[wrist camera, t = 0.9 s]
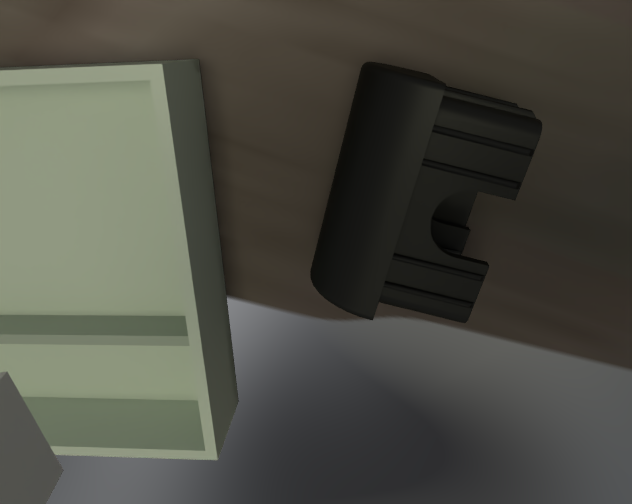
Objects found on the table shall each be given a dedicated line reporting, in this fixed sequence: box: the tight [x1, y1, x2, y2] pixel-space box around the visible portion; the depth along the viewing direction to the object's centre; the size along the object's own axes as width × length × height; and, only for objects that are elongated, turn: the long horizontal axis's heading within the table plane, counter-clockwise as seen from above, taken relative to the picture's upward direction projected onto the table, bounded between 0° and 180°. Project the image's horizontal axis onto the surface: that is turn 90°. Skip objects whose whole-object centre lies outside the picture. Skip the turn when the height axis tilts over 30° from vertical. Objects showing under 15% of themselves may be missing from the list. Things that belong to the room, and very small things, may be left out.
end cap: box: [311, 62, 542, 323], centre depth 24 cm, size 10×7×7 cm
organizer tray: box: [0, 59, 238, 460], centre depth 28 cm, size 22×20×5 cm
